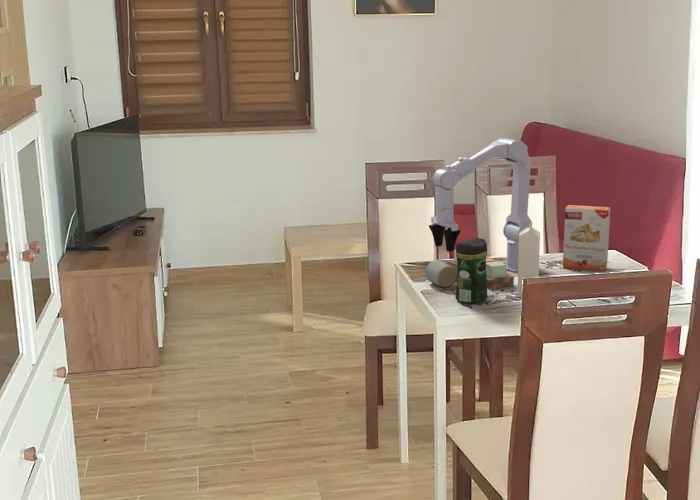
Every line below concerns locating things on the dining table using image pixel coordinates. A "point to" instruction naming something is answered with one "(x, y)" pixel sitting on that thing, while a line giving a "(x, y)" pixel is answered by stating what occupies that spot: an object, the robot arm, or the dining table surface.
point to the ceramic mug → (441, 273)
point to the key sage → (495, 269)
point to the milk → (528, 255)
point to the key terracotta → (489, 260)
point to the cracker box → (586, 237)
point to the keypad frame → (491, 282)
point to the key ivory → (455, 256)
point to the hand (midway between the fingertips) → (444, 248)
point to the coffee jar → (471, 271)
